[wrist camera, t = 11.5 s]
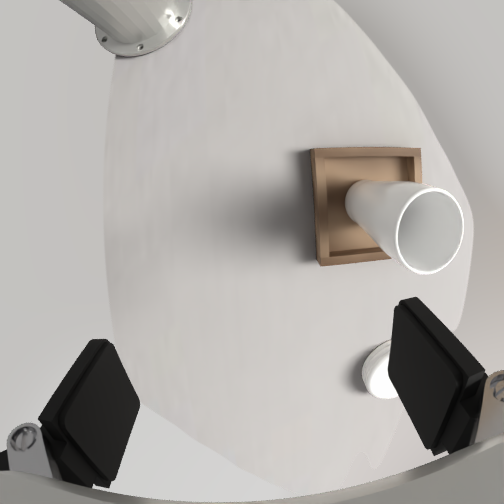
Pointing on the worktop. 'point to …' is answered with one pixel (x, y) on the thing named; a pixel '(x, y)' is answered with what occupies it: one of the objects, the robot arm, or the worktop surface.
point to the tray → (336, 187)
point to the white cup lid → (378, 373)
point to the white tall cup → (408, 221)
